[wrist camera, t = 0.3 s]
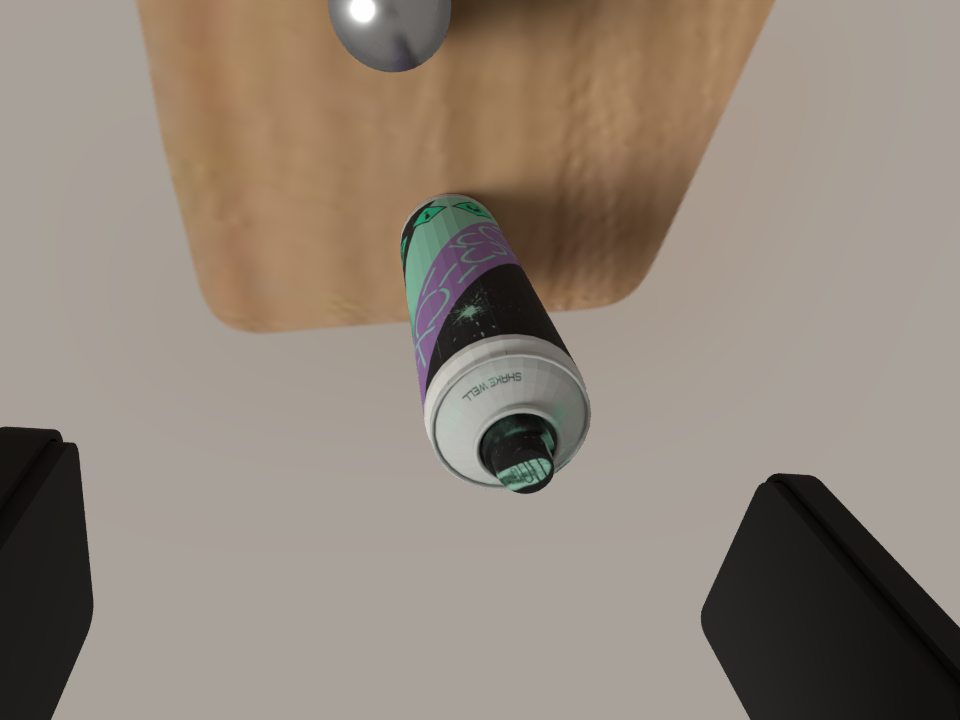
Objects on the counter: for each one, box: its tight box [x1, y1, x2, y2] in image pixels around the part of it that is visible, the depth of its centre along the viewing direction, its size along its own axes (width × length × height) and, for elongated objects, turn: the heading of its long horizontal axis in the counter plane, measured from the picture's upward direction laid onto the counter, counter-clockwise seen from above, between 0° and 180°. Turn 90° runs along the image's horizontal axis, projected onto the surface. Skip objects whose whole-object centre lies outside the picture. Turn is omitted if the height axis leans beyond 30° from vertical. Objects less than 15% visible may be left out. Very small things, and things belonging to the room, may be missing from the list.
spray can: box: [400, 194, 591, 494], centre depth 28 cm, size 6×6×20 cm
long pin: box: [328, 0, 451, 72], centre depth 26 cm, size 4×4×10 cm
